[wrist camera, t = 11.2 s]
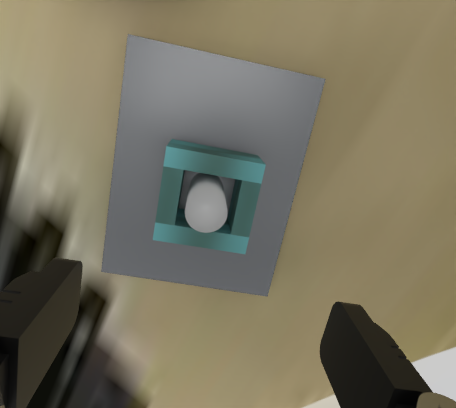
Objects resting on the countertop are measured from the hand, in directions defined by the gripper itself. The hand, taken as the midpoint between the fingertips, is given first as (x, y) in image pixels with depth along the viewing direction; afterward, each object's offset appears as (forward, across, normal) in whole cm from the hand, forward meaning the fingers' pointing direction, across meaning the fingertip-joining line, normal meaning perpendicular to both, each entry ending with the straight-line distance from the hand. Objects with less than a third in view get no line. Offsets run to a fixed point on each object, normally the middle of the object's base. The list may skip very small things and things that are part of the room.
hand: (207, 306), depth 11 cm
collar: (+15, 0, 0) cm, 15 cm away
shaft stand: (+18, 0, 0) cm, 18 cm away
